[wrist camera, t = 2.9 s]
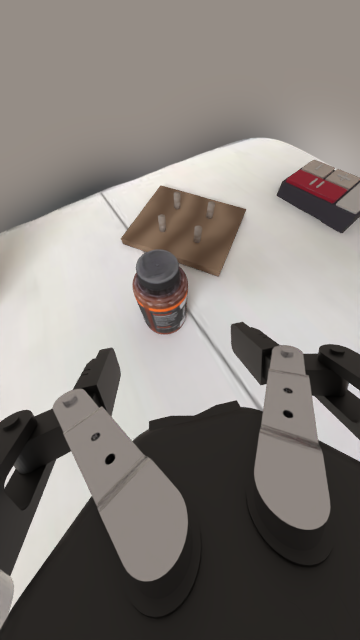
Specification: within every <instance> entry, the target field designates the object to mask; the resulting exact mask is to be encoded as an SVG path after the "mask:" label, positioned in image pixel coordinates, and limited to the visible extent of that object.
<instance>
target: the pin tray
mask: <svg viewBox="0 0 360 640" xmlns="http://www.w3.org/2000/svg"><path fill="white" fill-rule="evenodd" d="M245 211H246V209H243V208H240V207H236V206H233V205H229V204H225V203H222V202H218V201H215V200H211V199H207V198H204V197H200V196H197V195H193V194H189V193H186V192H182V191H179V190H175V189H172V188H168V187H164V186H160V187H159V188H158V190H157V191H156V192H155V194H154V195H153V196H152V198H151V199H150V200H149V202H148V203H147V204H146V206H145V207H144V208H143V210H142V211H141V212H140V214H139V215H138V216H137V218H136V219H135V220H134V222H133V223H132V224H131V226H130V227H129V228H128V230H127V231H126V232H125V234H124V235H123V236H122V238H121V240H122V242H123V244H125V245H128V246H131V247H134V248H137V249H140V250H143V251H145V252H149V251H151V250H156V249H160V250H166V251H168V252H170V253H172V254H173V255H174V256H175V257H176V258H177V260H178V263H181V264H183V265H186V266H189V267H192V268H195V269H198V270H201V271H204V272H207V273H210V274H213V275H216V276H219V275H220V272H221V270H222V267H223V265H224V262H225V260H226V258H227V255H228V253H229V250H230V248H231V245H232V243H233V241H234V238H235V236H236V233H237V231H238V228H239V226H240V224H241V221H242V219H243V216H244V214H245Z"/></svg>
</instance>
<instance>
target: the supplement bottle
mask: <svg viewBox="0 0 360 640" xmlns="http://www.w3.org/2000/svg"><path fill="white" fill-rule="evenodd" d="M136 271H137V273H136V274H135V276H134V279H133V292H134V295H135V297H136V300H137V302H138V305H139V307H140V310H141V312H142V314H143V316H144V319H145V321H146V323H147V325H148V326H149V328H150V329H151V330H153V331H154V332H156V333H159V334H171V333H174V332H176V331H177V330H179V329H180V328H181V326H182V325H183V323H184V321H185V317H186V304H187V293H188V280H187V277H186V274H185V272H184V271H183V270H182V269H181V268H180V267H179V263H178V260H177V258H176V257H175V256H174V255H173V254H172V253H170V252H168V251H166V250H160V249H156V250H151V251H149V252H146V253H144V254H143V255H142V256H141V257H140V258H139V259H138V261H137V264H136Z"/></svg>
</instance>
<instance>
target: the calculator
mask: <svg viewBox="0 0 360 640" xmlns="http://www.w3.org/2000/svg"><path fill="white" fill-rule="evenodd" d="M334 169H335V168H334V167H332V166H329V165H327V164H324V163H322V162H319V161H316V160H313V161H311V162H310V163H308V164H307V165H305V166H304V167H303V168H301V169H300V170H298V171H297V172H295V173H294V174H293V175H291V176H290V177H288V178H287V179H285V180H284V181H283V182H282V184H281V186H280V188H279V191H278V193H277V196H278V197H280V198H282V199H283V200H285V201H287V202H289V203H290V204H292V205H294V206H295V207H297V208H299V209H301V210H303V211H304V212H306V213H308V214H310V215H312V216H314V217H316V218H318V219H320V220H321V222H323V223H324V224H326V225H328V226H329V227H331V228H333V229H335V230H336V231H338V232H340V233H343V232H344V231H345V230H346V229H347V228H348V227H349V226H350V225H351V224H352V223H353V222H354V221H356V220H357V219H358V218H359V217H360V178H359V177H357V176H355V175H352V174H349V173H347V172H344V171H342V170H339V169H337V170H336V171H335V170H334Z"/></svg>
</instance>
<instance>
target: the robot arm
mask: <svg viewBox="0 0 360 640" xmlns="http://www.w3.org/2000/svg"><path fill="white" fill-rule="evenodd" d="M231 345H232V349H233V352H234V353H235V354H236V356H237V357H238V358H239V359H240V361H241V362H242V363H243V364H244V365H245V367H246V368H247V369H248V370H249V372H250V373H251V374H252V375H253V376H254V378H255V379H256V380H257V381H258V383H259V384H260V385H264V384H267V386H266V394H265V401H264V408H263V412H262V411H260V410H256V409H252V408H246V407H240V405H239V404H238V402H237V400H236V401H232V402H228V403H223V404H219V405H215V406H213V407H211V408H210V409H208V410H206V411H204V412H202V413H200V414H198V415H195V416H169V417H165V418H160V419H156V420H152V421H149V430H147V431H145V432H143V433H142V434H140V435H139V436H138V437H136V438H135V439H134V440H133V441H132V440H131V439H130V438H129V437H128V436H127V435H126V433H125V432H124V431H123V430H122V429H121V428H120V426H119V425H118V424H117V423H116V422H115V421H114V419H113V418H112V417H111V416H112V411H113V407H114V403H115V398H116V394H117V390H118V385H119V381H120V376H121V372H120V367H119V364H118V361H117V358H116V354H115V351H114V349H113V348H107V349H102V350H100V351H99V353H98V355H97V357H96V359H92V360H91V361H90V362H89V363H88V364H87V365H86V367H85V368H84V371H83V372H82V374H81V376H80V377H79V379H78V381H77V383H76V385H75V386H74V388H73V390H71V391H69V392H67V393H65V394H63V395H62V396H61V397H59V398H58V399H57V400H56V402H55V403H54V405H53V409H51V410H48V411H46V412H44V413H41V414H39V415H37V416H35V417H34V415H33V414H32V412H31V411H29V410H23V411H19V412H16V413H14V414H12V415H10V416H8V417H7V418H5V419H4V420H2V421H1V422H0V640H360V462H359V461H358V460H356V459H354V458H352V457H350V456H348V455H346V454H344V453H342V452H340V451H338V450H336V449H334V448H333V447H331V446H329V445H327V444H325V443H323V442H321V441H319V440H318V437H317V430H316V422H315V415H314V408H313V401H312V396H315V397H316V398H317V399H318V400H319V401H320V402H321V403H322V404H323V405H324V406H325V407H326V408H327V409H328V410H329V411H330V412H331V413H332V414H333V415H334V416H336V417H337V418H338V419H339V420H340V421H341V422H342V423H343V424H344V425H345V426H346V427H347V428H348V429H349V430H350V431H351V432H352V433H353V434H354V435H355V436H356V437H357V438H358V439H359V440H360V399H359V398H358V397H356V396H355V395H354V394H352V393H351V392H350V391H349V390H347V388H348V384H349V383H350V384H352V385H353V386H354V387H356V388H357V389H359V390H360V354H358V353H356V352H354V351H352V350H351V349H349V348H346V347H343V346H340V345H333V344H327V345H322V346H320V348H319V352H318V354H303V353H302V351H301V350H299V349H298V348H295V347H292V346H287V345H279V344H277V343H276V342H275V341H273V340H272V339H271V338H269V337H268V336H267V335H265V334H264V333H262V332H261V331H260V330H258V329H255V328H252V327H251V328H250V327H249V326H247V325H246V324H245V323H244V322H240V323H235V324H232V325H231ZM70 451H72V454H73V456H74V458H75V460H76V462H77V464H78V466H79V469H80V471H81V473H82V475H83V477H84V479H85V482H86V484H87V486H88V488H89V490H90V492H91V494H92V496H91V498H90V499H89V501H88V502H87V503H86V505H85V506H84V508H83V509H82V510H81V512H80V513H79V515H78V516H77V517H76V519H75V520H74V522H73V523H72V524H71V526H70V527H69V529H68V530H67V531H66V533H65V534H64V536H63V537H62V538H61V540H60V541H59V543H58V544H57V545H56V547H55V548H54V550H53V551H52V552H51V554H50V555H49V557H48V558H47V559H46V561H45V562H44V564H43V565H42V566H41V568H40V569H39V571H38V572H37V573H36V575H35V576H34V578H33V579H32V580H31V582H30V583H29V585H28V586H27V587H26V589H25V590H24V592H23V593H22V595H21V596H20V597H19V599H18V600H17V602H16V603H15V605H14V606H13V608H12V609H11V611H10V613H9V610H10V607H11V603H12V599H13V594H14V584H13V580H12V578H11V577H10V575H11V573H12V570H13V568H14V565H15V563H16V560H17V558H18V555H19V552H20V550H21V547H22V545H23V542H24V540H25V537H26V535H27V532H28V530H29V527H30V524H31V522H32V519H33V517H34V514H35V512H36V509H37V507H38V504H39V502H40V499H41V497H42V494H43V491H44V489H45V486H46V484H47V481H48V479H49V476H50V474H51V471H52V469H53V466H54V463H55V461H56V459H57V458H59V457H61V456H63V455H65V454H67V453H68V452H70ZM13 466H14V467H15V468H16V469H15V471H14V473H13V475H12V476H11V478H10V480H9V482H8V483H7V485H6V487H5V489H4V484H5V480H6V477H7V475H8V474H9V472H10V470H11V468H12V467H13Z"/></svg>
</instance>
